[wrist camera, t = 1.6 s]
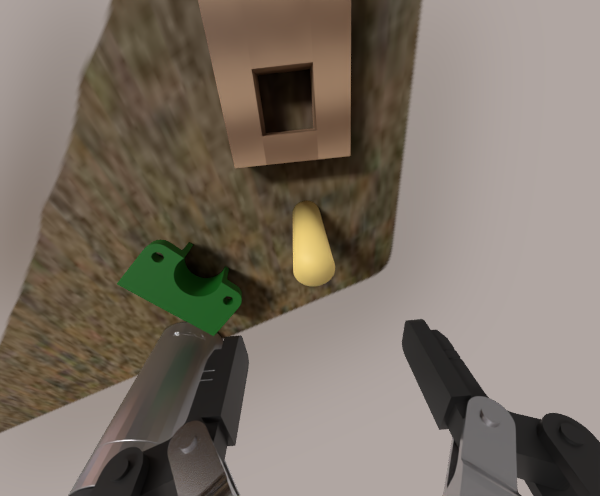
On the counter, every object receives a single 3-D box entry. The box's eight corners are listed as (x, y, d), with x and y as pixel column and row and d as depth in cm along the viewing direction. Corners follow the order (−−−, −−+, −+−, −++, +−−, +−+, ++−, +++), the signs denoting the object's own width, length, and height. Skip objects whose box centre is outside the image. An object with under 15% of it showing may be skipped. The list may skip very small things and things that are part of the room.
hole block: (342, 150, 24) (350, 155, 21) (242, 161, 24) (234, 168, 21) (340, -158, 15) (352, -226, 12) (181, -137, 15) (154, -198, 12)
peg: (315, 228, 28) (327, 289, 18) (289, 222, 28) (289, 282, 18) (323, 204, 27) (340, 256, 17) (296, 197, 26) (299, 247, 17)
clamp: (236, 259, 35) (257, 302, 28) (210, 289, 36) (226, 338, 29) (151, 217, 27) (154, 264, 20) (119, 257, 27) (113, 316, 21)
